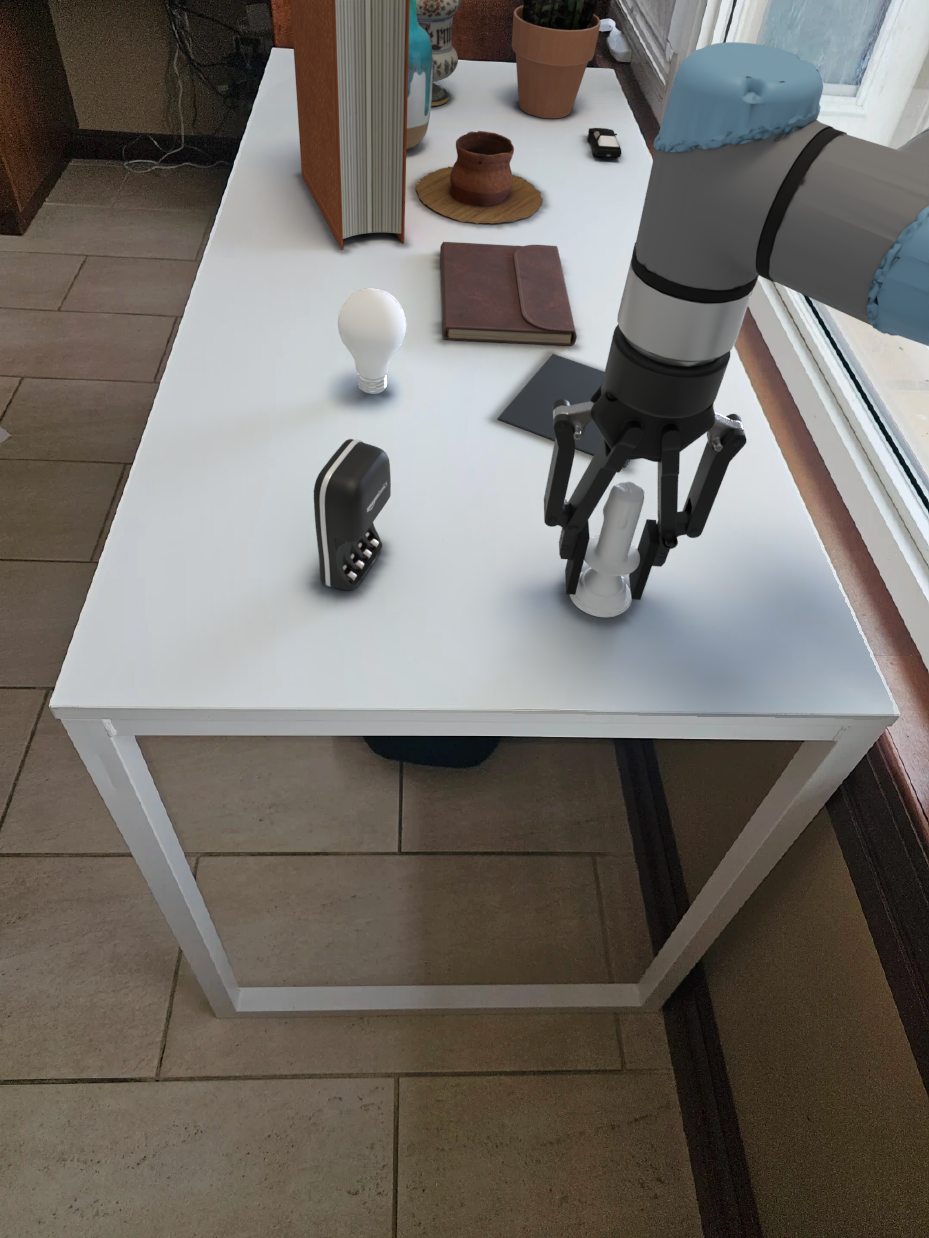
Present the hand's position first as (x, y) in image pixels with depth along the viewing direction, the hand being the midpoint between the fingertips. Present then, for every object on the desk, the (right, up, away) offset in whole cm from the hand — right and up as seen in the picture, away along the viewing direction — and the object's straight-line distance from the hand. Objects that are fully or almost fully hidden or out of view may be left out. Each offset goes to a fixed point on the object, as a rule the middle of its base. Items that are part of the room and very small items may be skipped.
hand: (602, 584), depth 72 cm
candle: (0, -1, +1) cm, 1 cm away
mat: (+1, +19, +18) cm, 27 cm away
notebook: (-7, +36, +32) cm, 48 cm away
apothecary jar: (-19, +84, +72) cm, 112 cm away
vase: (-22, +68, +58) cm, 92 cm away
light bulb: (-21, +21, +17) cm, 34 cm away
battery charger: (-21, +1, +1) cm, 21 cm away
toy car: (+10, +71, +63) cm, 95 cm away
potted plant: (+2, +82, +72) cm, 110 cm away
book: (-27, +53, +44) cm, 74 cm away
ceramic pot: (-9, +57, +49) cm, 76 cm away
